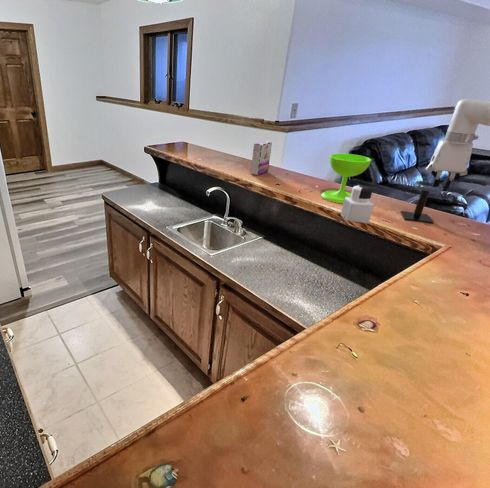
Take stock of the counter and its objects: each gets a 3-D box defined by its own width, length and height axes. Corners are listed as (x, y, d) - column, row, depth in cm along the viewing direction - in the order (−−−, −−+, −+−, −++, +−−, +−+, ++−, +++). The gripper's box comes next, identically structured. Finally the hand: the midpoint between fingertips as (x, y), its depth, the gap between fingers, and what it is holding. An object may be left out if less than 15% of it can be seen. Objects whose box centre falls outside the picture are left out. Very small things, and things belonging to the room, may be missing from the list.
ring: (438, 186, 131) (440, 182, 130) (446, 193, 123) (447, 188, 122) (410, 183, 134) (411, 179, 133) (415, 190, 126) (417, 185, 126)
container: (360, 216, 136) (369, 184, 131) (368, 224, 130) (378, 190, 124) (340, 215, 137) (348, 183, 131) (347, 223, 130) (356, 189, 124)
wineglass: (339, 190, 166) (349, 152, 157) (368, 201, 152) (380, 160, 144) (313, 194, 160) (321, 154, 152) (340, 205, 147) (351, 163, 139)
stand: (426, 217, 137) (438, 184, 131) (431, 226, 129) (445, 191, 123) (399, 214, 140) (410, 181, 134) (404, 222, 132) (416, 187, 126)
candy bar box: (260, 170, 197) (264, 140, 190) (268, 172, 194) (272, 142, 187) (249, 174, 190) (253, 143, 183) (257, 175, 187) (262, 144, 179)
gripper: (483, 138, 120) (461, 189, 128) (428, 134, 125) (411, 184, 133) (491, 141, 113) (468, 195, 122) (433, 137, 119) (415, 189, 127)
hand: (439, 189), depth 127 cm, fingers closed on ring, 2 cm apart
